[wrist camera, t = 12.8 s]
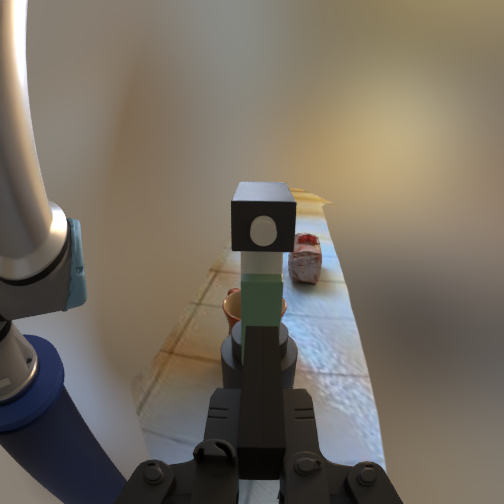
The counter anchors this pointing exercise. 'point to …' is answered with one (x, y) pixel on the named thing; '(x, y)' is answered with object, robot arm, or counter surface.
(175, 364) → the counter surface
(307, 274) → the food item
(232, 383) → the spray bottle
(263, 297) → the trigger
